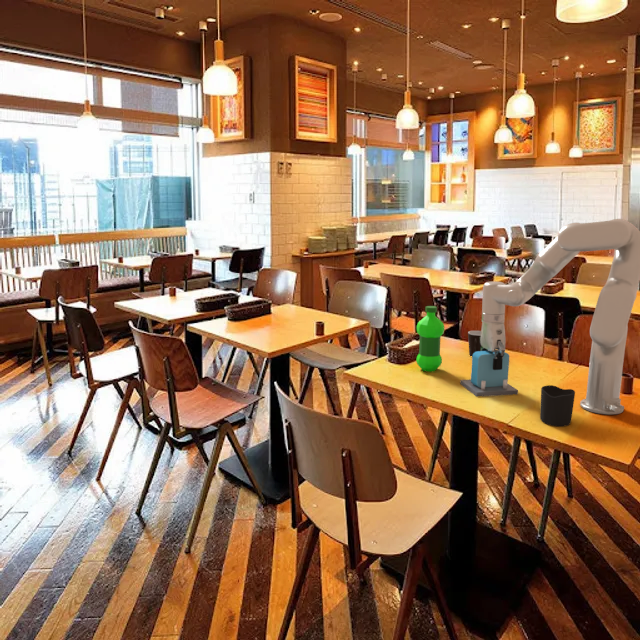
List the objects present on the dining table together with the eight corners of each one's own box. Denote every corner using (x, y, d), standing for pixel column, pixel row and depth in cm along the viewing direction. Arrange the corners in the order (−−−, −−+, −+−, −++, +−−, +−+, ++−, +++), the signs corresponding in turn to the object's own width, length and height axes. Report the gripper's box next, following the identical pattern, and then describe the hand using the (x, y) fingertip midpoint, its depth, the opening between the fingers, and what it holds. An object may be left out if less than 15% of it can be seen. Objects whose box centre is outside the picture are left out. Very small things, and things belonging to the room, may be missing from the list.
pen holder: (561, 415, 185) (564, 384, 183) (578, 426, 176) (581, 394, 174) (533, 416, 184) (535, 385, 182) (548, 428, 175) (551, 396, 173)
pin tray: (517, 394, 204) (518, 381, 203) (476, 396, 202) (477, 384, 201) (498, 381, 218) (499, 370, 217) (460, 384, 215) (460, 372, 214)
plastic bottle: (443, 374, 227) (445, 309, 222) (415, 372, 228) (417, 309, 223) (441, 366, 237) (444, 304, 231) (415, 365, 238) (417, 304, 233)
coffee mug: (474, 352, 258) (476, 329, 256) (491, 356, 252) (493, 333, 250) (458, 356, 251) (459, 333, 249) (475, 361, 244) (476, 337, 242)
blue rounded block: (500, 381, 213) (503, 349, 210) (507, 385, 208) (510, 352, 206) (470, 384, 210) (472, 351, 207) (476, 388, 206) (478, 354, 203)
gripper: (515, 322, 196) (512, 372, 200) (491, 312, 213) (489, 358, 217) (494, 323, 195) (492, 373, 199) (472, 313, 212) (470, 360, 215)
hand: (490, 365), depth 208 cm, fingers open, 9 cm apart
